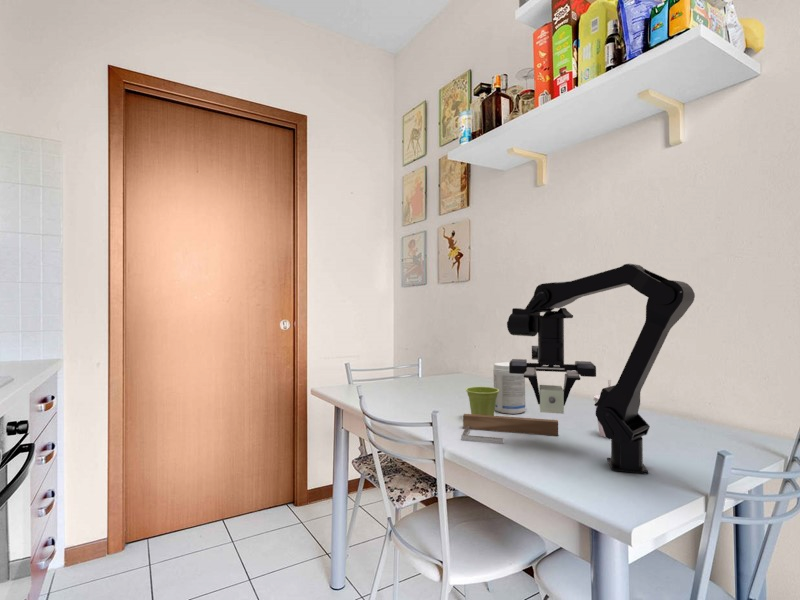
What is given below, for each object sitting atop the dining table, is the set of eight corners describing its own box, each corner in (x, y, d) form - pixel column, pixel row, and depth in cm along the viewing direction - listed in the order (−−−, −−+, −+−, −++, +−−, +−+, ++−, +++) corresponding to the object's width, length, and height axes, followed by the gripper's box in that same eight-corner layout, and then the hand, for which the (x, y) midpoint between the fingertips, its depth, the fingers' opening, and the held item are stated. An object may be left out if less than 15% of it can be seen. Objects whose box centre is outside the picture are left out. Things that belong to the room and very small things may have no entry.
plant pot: (482, 425, 121) (482, 394, 121) (459, 418, 129) (459, 388, 129) (506, 420, 126) (506, 390, 126) (482, 414, 134) (482, 385, 134)
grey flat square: (503, 443, 105) (503, 439, 105) (461, 439, 108) (461, 435, 108) (505, 432, 114) (505, 428, 114) (466, 429, 117) (466, 425, 117)
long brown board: (558, 435, 111) (558, 422, 111) (463, 428, 118) (463, 415, 118) (557, 433, 113) (557, 420, 113) (464, 426, 120) (464, 413, 120)
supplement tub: (531, 411, 138) (531, 363, 138) (514, 416, 131) (514, 366, 131) (504, 406, 145) (504, 361, 145) (487, 410, 138) (487, 363, 138)
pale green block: (564, 414, 98) (563, 392, 98) (540, 413, 99) (540, 390, 99) (561, 406, 105) (561, 385, 105) (539, 405, 107) (539, 384, 107)
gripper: (589, 336, 108) (589, 400, 108) (510, 334, 113) (511, 395, 113) (596, 339, 97) (596, 410, 97) (509, 337, 102) (509, 405, 102)
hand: (551, 404), depth 102 cm, fingers closed on pale green block, 5 cm apart
